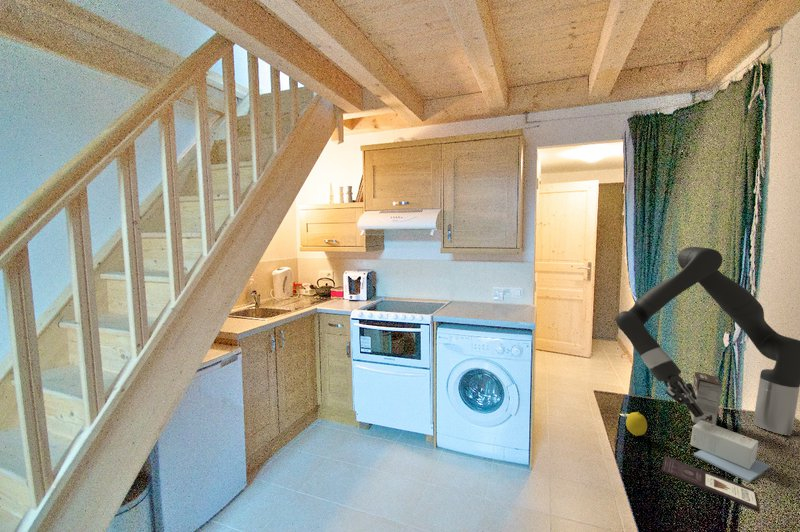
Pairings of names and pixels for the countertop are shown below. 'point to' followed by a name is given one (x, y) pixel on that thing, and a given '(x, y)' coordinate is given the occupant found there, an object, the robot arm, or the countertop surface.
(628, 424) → the lemon
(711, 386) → the coffee box
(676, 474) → the chocolate bar
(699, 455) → the flat blue-gray panel
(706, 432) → the small box
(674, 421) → the countertop surface
